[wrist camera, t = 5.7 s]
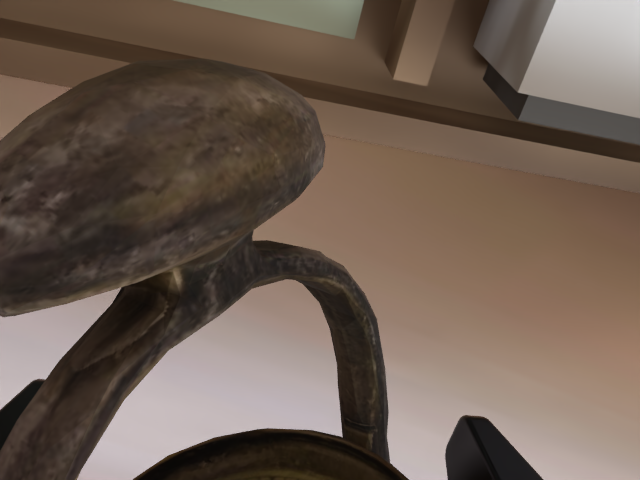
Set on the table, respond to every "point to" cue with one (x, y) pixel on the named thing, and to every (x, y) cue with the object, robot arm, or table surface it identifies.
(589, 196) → the table surface
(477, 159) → the rail board
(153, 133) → the bronze arched handle device
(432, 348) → the table surface
